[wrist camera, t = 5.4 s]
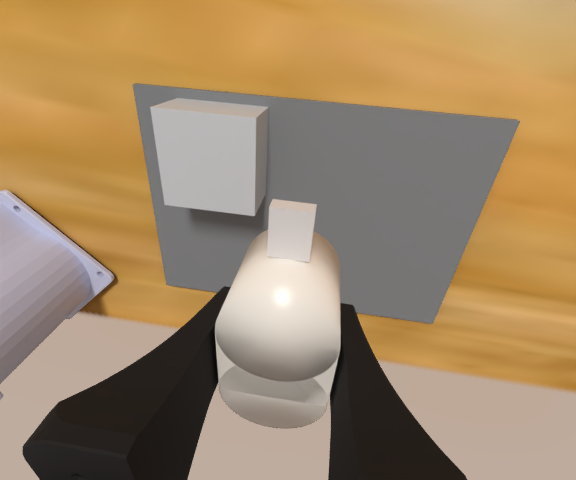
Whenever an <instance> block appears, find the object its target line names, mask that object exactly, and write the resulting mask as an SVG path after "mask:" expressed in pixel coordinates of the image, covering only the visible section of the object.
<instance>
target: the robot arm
mask: <svg viewBox="0 0 576 480" xmlns="http://www.w3.org/2000/svg"><path fill="white" fill-rule="evenodd" d="M113 280H114V275H113V274H112V273H111V272H110V271H109V270H108V269H106V268H105V267H104V266H103V265H101V264H100V263H99V262H98V261H96V260H95V259H94V258H93V257H91V256H90V255H89V254H88V253H86V252H85V251H84V250H83V249H81V248H80V247H79V246H78V245H76V244H75V243H74V242H73V241H71V240H70V239H69V238H68V237H66V236H65V235H64V234H63V233H61V232H60V231H59V230H58V229H56V228H55V227H54V226H53V225H51V224H50V223H49V222H48V221H46V220H45V219H44V218H43V217H41V216H40V215H39V214H38V213H36V212H35V211H34V210H33V209H31V208H30V207H29V206H28V205H26V204H25V203H24V202H22V201H21V200H20V199H19V198H17V197H16V196H15V195H14V194H12V193H11V192H10V191H8V190H2V191H0V384H1V383H2V381H4V379H6V377H7V376H9V374H10V373H12V371H14V369H16V368H17V366H19V364H21V363H22V362H23V361H24V359H25V358H27V356H28V355H29V354H30V353H31V352H32V351H33V350H34V349H35V348H36V347H37V346H38V345H39V344H40V343H41V342H42V341H43V340H44V339H45V338H46V337H47V336H48V335H49V334H50V333H51V332H52V331H53V330H54V329H55V328H56V327H57V326H58V325H59V324H60V323H61V322H62V321H63V320H64V319H70V318H71V317H73V316H74V315H75V314H76V313H77V312H78V311H79V310H80V309H82V308H83V307H84V306H85V305H86V304H87V303H88V302H90V301H91V300H92V299H93V298H94V297H95V296H96V295H97V294H99V293H100V292H101V291H102V290H103V289H104V288H105V287H107V286H108V285H109V284H110V283H111V282H112V281H113ZM230 288H231V287H226V286H224V287H223V288H221V289H220V291H219V292H218V293H217V294H216V295H215V296H214V297H213V298H212V299H211V300H210V301H209V302H208V303H207V304H206V305H205V306H204V307H203V308H202V309H201V310H200V311H199V312H198V313H197V314H196V315H195V316H194V317H193V318H192V319H191V320H189V321H188V322H187V323H186V324H185V325H184V326H183V327H181V328H180V329H179V330H178V331H177V332H176V333H174V334H173V335H172V336H171V337H170V338H168V339H167V340H166V341H165V342H163V343H162V344H161V345H159V346H158V347H156V348H155V349H154V350H152V351H151V352H149V353H148V354H146V355H145V356H143V357H142V358H141V359H139V360H137V361H136V362H134V363H133V364H131V365H130V366H128V367H126V368H125V369H123V370H121V371H119V372H118V373H116V374H114V375H112V376H111V377H109V378H108V379H105V380H104V381H102V382H100V383H98V384H96V385H94V386H92V387H90V388H88V389H86V390H84V391H82V392H79V393H77V394H75V395H73V396H71V397H69V398H67V399H65V400H62V401H60V402H59V403H58V404H57V405H56V406H55V407H54V408H53V409H52V410H51V412H49V414H48V415H47V416H46V417H45V419H44V420H43V421H42V423H41V424H40V425H39V426H38V428H37V429H36V430H35V432H34V433H33V434H32V435H31V437H30V438H29V439H28V440H27V442H26V443H25V444H24V446H23V456H24V458H25V460H26V461H27V462H28V464H29V465H30V467H31V468H32V469H33V471H34V472H35V473H36V475H37V476H38V477H39V479H40V480H187V478H188V475H189V471H190V468H191V464H192V460H193V457H194V453H195V450H196V447H197V443H198V440H199V436H200V433H201V430H202V426H203V423H204V420H205V417H206V413H207V410H208V407H209V404H210V401H211V399H212V396H213V393H214V391H215V389H216V386H217V384H218V368H217V354H216V340H215V324H216V320H217V317H218V315H219V313H220V311H221V308H222V306H223V304H224V302H225V299H226V297H227V295H228V293H229V290H230ZM340 326H341V346H340V353H339V357H338V361H337V366H336V370H335V374H334V379H333V383H332V387H331V392H330V406H331V439H330V460H329V479H328V480H467V479H466V476H465V475H464V474H463V473H462V472H461V471H460V470H459V469H458V467H457V466H456V465H455V464H454V463H453V462H452V461H451V460H450V459H449V458H448V457H447V456H446V455H445V454H444V453H443V451H442V450H441V449H440V448H439V447H438V446H437V445H436V444H435V442H434V441H433V440H432V439H431V438H430V436H429V435H428V434H427V433H426V432H425V430H424V429H423V428H422V427H421V425H420V424H419V423H418V421H417V420H416V419H415V418H414V416H413V415H412V414H411V412H410V411H409V410H408V409H407V407H406V406H405V404H404V403H403V401H402V400H401V399H400V397H399V396H398V394H397V393H396V391H395V390H394V388H393V387H392V385H391V384H390V382H389V381H388V379H387V377H386V375H385V374H384V372H383V370H382V368H381V367H380V365H379V363H378V361H377V359H376V357H375V355H374V353H373V352H372V349H371V347H370V345H369V343H368V341H367V339H366V337H365V334H364V332H363V330H362V327H361V325H360V322H359V320H358V317H357V314H356V311H355V307H354V306H353V305H351V304H344V303H340ZM2 397H3V394H2V393H1V392H0V399H1V398H2Z"/></svg>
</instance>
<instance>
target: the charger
mask: <svg viewBox="0 0 576 480" xmlns="http://www.w3.org/2000/svg"><path fill="white" fill-rule="evenodd" d="M150 109H151V116H152V123H153V129H154V136H155V143H156V150H157V156H158V163H159V170H160V177H161V184H162V190H163V197H164V204H165V205H169V206H177V207H185V208H193V209H201V210H209V211H217V212H225V213H233V214H241V215H249V216H255V215H256V213H257V211H258V209H259V207H260V204H261V202H262V200H263V198H264V196H265V194H266V169H267V140H268V111H269V107H265V106H255V105H245V104H235V103H224V102H214V101H204V100H194V99H184V98H176V99H173V100H170V101H167V102H164V103H161V104H158V105H155V106H152V107H150Z"/></svg>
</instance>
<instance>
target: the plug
mask: <svg viewBox="0 0 576 480" xmlns="http://www.w3.org/2000/svg"><path fill="white" fill-rule="evenodd" d="M316 207H317V204H310V203H302V202H293V201H285V200H277V199H272V202H271V204H270V206H269V222H268V230H266V231H264V232H262V233H261V234H259V235H258V236H257V237H256V238H255V239H254V240H253V241H252V242H251V244H250V246H249V248H248V250H247V252H246V254H245V257H244V259H243V261H242V263H241V266H240V268H239V270H238V272H237V275H236V277H235V279H234V281H233V284H232V286H231V288H230V290H229V293H228V295H227V297H226V299H225V302H224V304H223V306H222V308H221V311H220V313H219V315H218V317H217V320H216V324H215V340H216V354H217V368H218V382H219V391H220V394H221V397H222V399H223V401H224V402H225V403H226V405H227V406H228V407H229V408H230V409H231V410H233V411H234V412H235V413H236V414H238V415H240V416H241V417H243V418H245V419H247V420H249V421H251V422H254V423H256V424H260V425H263V426H268V427H273V428H297V427H302V426H306V425H308V424H311V423H313V422H315V421H317V420H318V419H319V418H320V417H321V416H322V415H323V414H324V412H325V411H326V408H327V404H328V400H329V396H330V392H331V387H332V383H333V379H334V374H335V370H336V366H337V361H338V357H339V353H340V346H341V326H340V261H339V257H338V255H337V252H336V251H335V249H334V247H333V246H332V245H331V243H330V242H329V241H328V240H327V239H325V238H324V237H323V236H322V235H320V234H318V233H317V232H315V231H313V230H314V222H315V214H316Z"/></svg>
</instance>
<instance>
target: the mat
mask: <svg viewBox="0 0 576 480" xmlns="http://www.w3.org/2000/svg"><path fill="white" fill-rule="evenodd" d="M133 89H134V95H135V101H136V107H137V113H138V119H139V125H140V131H141V137H142V143H143V148H144V154H145V160H146V166H147V172H148V178H149V184H150V190H151V196H152V202H153V208H154V214H155V220H156V226H157V231H158V237H159V243H160V249H161V255H162V261H163V267H164V273H165V279H166V285H171V286H178V287H184V288H191V289H198V290H205V291H212V292H219V291H220V289H221V288H223V287H224V286H226V287H231V286H232V284H233V281H234V279H235V277H236V275H237V272H238V270H239V268H240V266H241V263H242V261H243V259H244V257H245V254H246V252H247V250H248V248H249V246H250V244H251V242H252V241H253V240H254V239H255V238H256V237H257V236H258V235H259V234H261V233H262V232H264V231H266V230H268V222H269V206H270V204H271V202H272V199H277V200H285V201H293V202H302V203H310V204H317V207H316V214H315V222H314V230H313V231H315V232H317V233H318V234H320V235H322V236H323V237H324V238H325V239H327V240H328V241H329V242H330V243H331V245H332V246H333V247H334V249H335V251H336V252H337V255H338V257H339V261H340V303H344V304H351V305H353V306H354V307H355V311H356V313H362V314H369V315H376V316H383V317H390V318H397V319H403V320H410V321H417V322H424V323H431V324H433V322H434V320H435V317H436V315H437V313H438V310H439V308H440V306H441V303H442V301H443V299H444V296H445V294H446V292H447V289H448V287H449V285H450V283H451V280H452V278H453V276H454V273H455V271H456V269H457V266H458V264H459V262H460V259H461V257H462V255H463V252H464V250H465V248H466V245H467V243H468V241H469V238H470V236H471V234H472V231H473V229H474V227H475V225H476V222H477V220H478V218H479V215H480V213H481V211H482V208H483V206H484V204H485V201H486V199H487V197H488V194H489V192H490V190H491V187H492V185H493V183H494V180H495V178H496V176H497V173H498V171H499V169H500V166H501V164H502V162H503V160H504V157H505V155H506V153H507V150H508V148H509V146H510V143H511V141H512V139H513V136H514V134H515V132H516V129H517V127H518V125H519V122H520V121H518V120H515V119H505V118H494V117H484V116H473V115H463V114H452V113H442V112H431V111H421V110H410V109H400V108H389V107H379V106H368V105H358V104H347V103H337V102H326V101H316V100H305V99H295V98H284V97H274V96H263V95H253V94H242V93H232V92H221V91H211V90H200V89H190V88H179V87H169V86H158V85H148V84H137V83H136V84H133ZM176 98H184V99H194V100H204V101H214V102H224V103H235V104H245V105H255V106H265V107H269V111H268V140H267V169H266V194H265V196H264V198H263V200H262V202H261V204H260V207H259V209H258V211H257V213H256V215H255V216H249V215H241V214H233V213H225V212H217V211H209V210H201V209H193V208H185V207H177V206H169V205H165V204H164V197H163V190H162V184H161V177H160V170H159V163H158V156H157V150H156V143H155V136H154V129H153V123H152V116H151V109H150V107H152V106H155V105H158V104H161V103H164V102H167V101H170V100H173V99H176Z"/></svg>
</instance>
